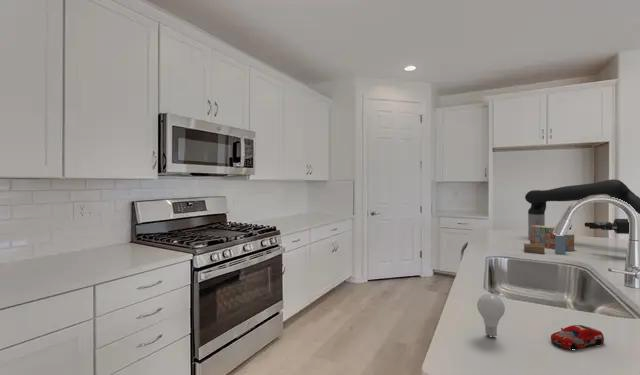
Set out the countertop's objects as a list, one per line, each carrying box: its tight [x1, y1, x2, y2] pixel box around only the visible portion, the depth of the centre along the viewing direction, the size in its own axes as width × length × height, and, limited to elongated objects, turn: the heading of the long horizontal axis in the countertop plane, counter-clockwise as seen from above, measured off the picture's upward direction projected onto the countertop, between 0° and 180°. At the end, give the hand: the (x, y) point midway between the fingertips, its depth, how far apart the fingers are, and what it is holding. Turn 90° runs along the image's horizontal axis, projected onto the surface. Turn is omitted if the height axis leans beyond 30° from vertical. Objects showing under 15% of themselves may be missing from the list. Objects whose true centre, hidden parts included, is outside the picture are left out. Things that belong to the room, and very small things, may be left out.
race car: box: [550, 324, 605, 351], centre depth 80 cm, size 13×5×4 cm, turn 103°
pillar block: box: [554, 235, 567, 256], centre depth 176 cm, size 4×4×12 cm
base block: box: [523, 242, 546, 255], centre depth 181 cm, size 9×9×4 cm
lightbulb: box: [476, 293, 506, 337], centre depth 84 cm, size 6×6×11 cm
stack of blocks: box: [529, 225, 575, 252], centre depth 191 cm, size 21×6×12 cm, turn 25°
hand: (586, 225), depth 170 cm, fingers open, 8 cm apart
